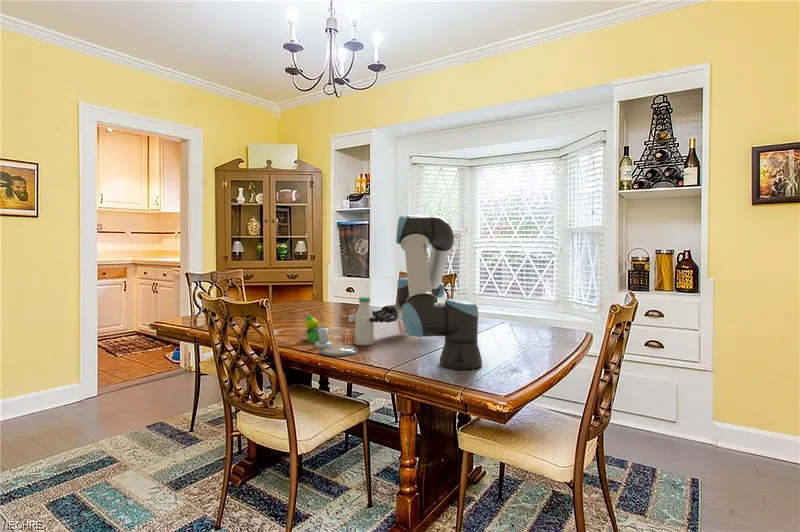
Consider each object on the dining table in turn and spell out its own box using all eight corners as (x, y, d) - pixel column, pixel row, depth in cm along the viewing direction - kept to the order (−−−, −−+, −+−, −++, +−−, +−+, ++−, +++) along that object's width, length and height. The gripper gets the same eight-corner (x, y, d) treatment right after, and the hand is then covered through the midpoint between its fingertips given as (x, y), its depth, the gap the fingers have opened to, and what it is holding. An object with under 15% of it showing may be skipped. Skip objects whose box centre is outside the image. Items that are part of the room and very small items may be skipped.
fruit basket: (323, 343, 195) (323, 317, 194) (302, 343, 195) (302, 317, 194) (328, 338, 206) (327, 313, 205) (308, 337, 206) (308, 313, 206)
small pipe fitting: (334, 347, 188) (334, 329, 188) (318, 349, 185) (318, 330, 184) (328, 343, 194) (328, 326, 194) (312, 345, 191) (312, 327, 190)
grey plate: (364, 353, 178) (364, 350, 178) (328, 358, 170) (328, 354, 170) (348, 346, 191) (348, 342, 190) (314, 350, 183) (314, 346, 183)
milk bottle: (372, 346, 191) (372, 298, 190) (354, 345, 191) (354, 298, 190) (373, 341, 199) (374, 296, 198) (356, 341, 199) (356, 296, 198)
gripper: (408, 324, 202) (374, 331, 184) (375, 318, 215) (339, 325, 197) (409, 307, 201) (374, 313, 184) (375, 303, 214) (339, 308, 197)
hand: (356, 319), depth 190 cm, fingers closed on milk bottle, 7 cm apart
